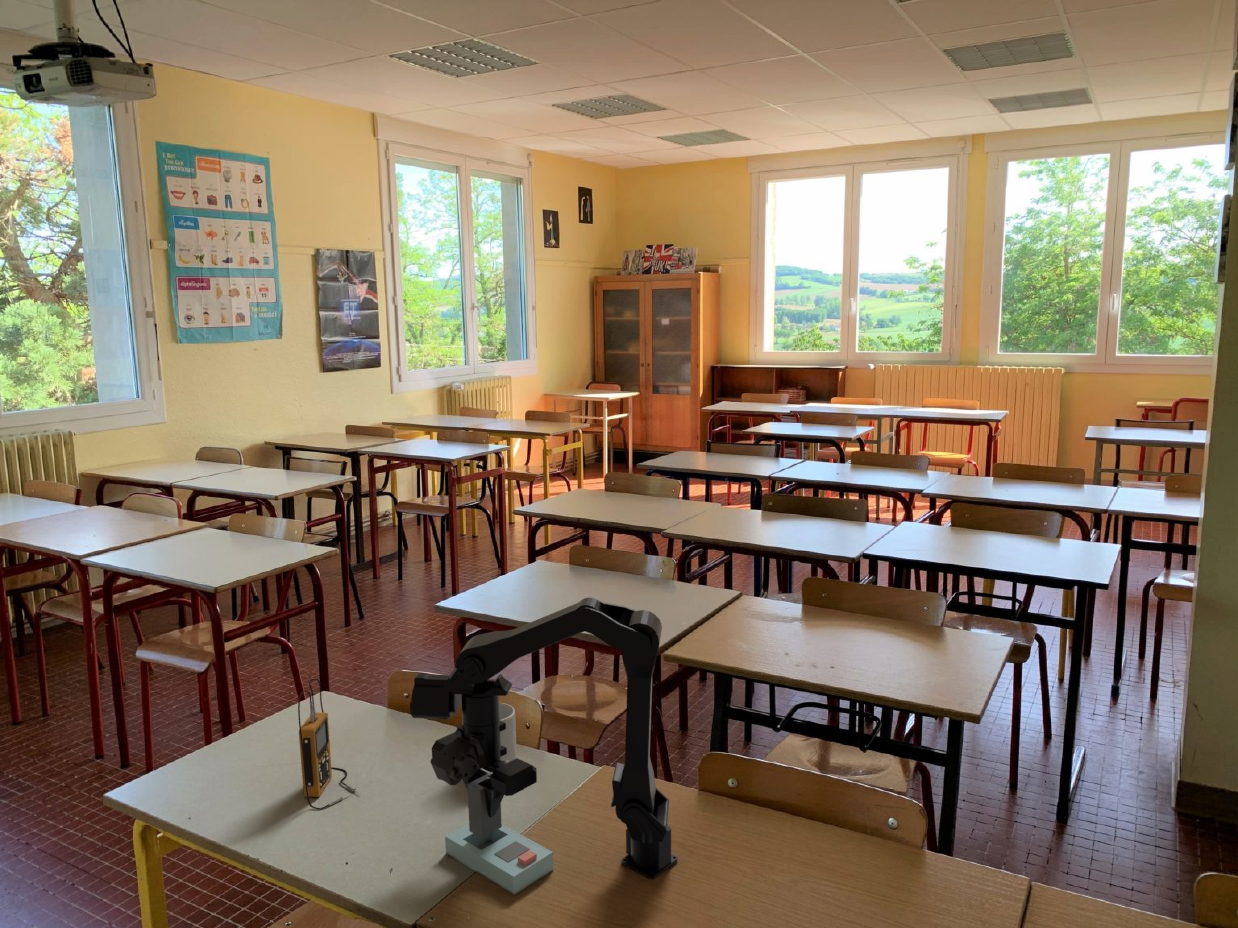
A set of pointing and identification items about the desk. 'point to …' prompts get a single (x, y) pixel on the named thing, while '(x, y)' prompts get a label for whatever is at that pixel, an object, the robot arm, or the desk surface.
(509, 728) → the mug
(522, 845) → the power strip
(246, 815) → the desk surface
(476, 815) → the plug
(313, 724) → the multimeter
